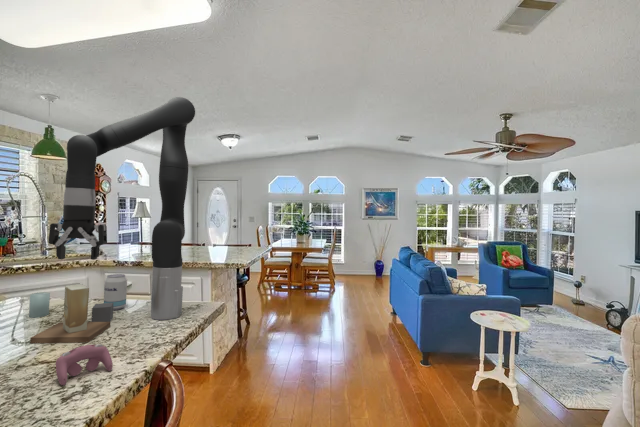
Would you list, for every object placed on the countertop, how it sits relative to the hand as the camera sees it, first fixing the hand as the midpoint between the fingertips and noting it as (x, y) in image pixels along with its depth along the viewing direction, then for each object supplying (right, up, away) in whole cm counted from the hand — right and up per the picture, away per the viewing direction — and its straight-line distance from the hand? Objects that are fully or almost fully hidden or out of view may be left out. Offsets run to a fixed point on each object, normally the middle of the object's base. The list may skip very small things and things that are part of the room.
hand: (77, 259), depth 94 cm
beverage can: (-3, -21, +22) cm, 31 cm away
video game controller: (+20, -22, -24) cm, 38 cm away
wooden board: (+1, -21, -3) cm, 21 cm away
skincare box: (+1, -20, -3) cm, 20 cm away
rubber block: (+1, -21, +9) cm, 23 cm away
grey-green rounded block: (-22, -20, +12) cm, 32 cm away
